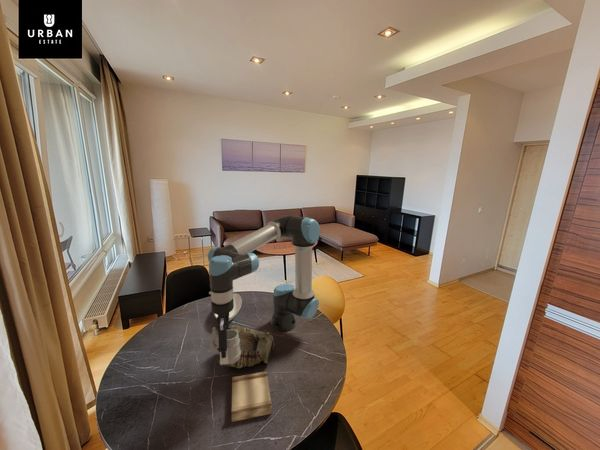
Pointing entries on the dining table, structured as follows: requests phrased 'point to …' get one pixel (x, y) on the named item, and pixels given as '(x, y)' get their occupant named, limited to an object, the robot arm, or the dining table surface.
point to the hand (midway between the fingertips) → (225, 355)
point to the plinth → (250, 396)
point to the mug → (228, 344)
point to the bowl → (235, 306)
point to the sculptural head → (252, 347)
